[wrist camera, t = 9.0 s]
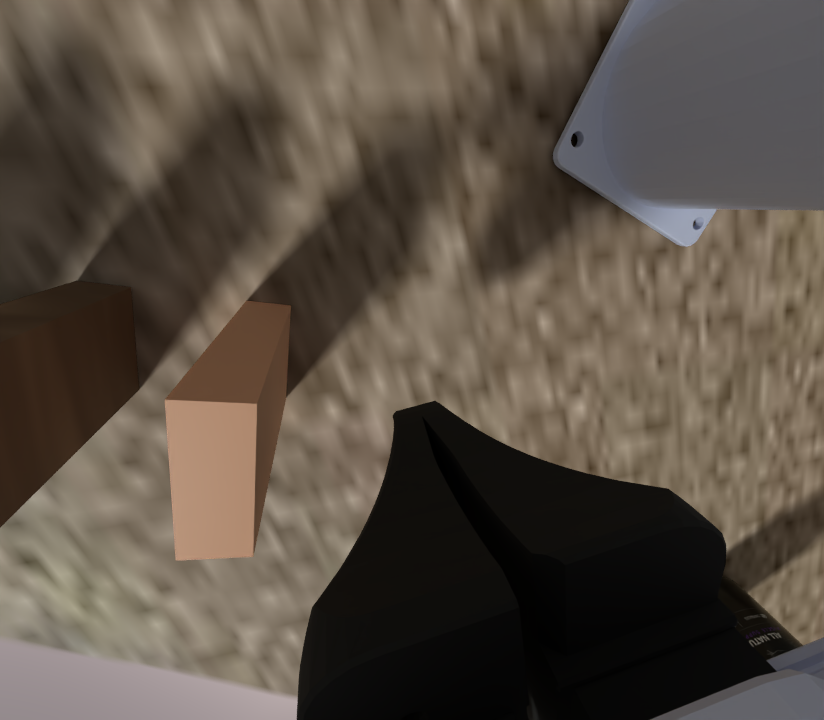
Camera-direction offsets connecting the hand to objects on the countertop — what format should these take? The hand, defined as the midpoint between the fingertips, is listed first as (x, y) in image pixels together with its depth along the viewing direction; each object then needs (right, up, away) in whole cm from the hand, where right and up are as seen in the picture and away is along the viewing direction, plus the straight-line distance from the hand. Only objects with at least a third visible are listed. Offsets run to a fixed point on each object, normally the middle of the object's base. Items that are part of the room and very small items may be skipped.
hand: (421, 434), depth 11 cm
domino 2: (-6, +3, +4) cm, 8 cm away
